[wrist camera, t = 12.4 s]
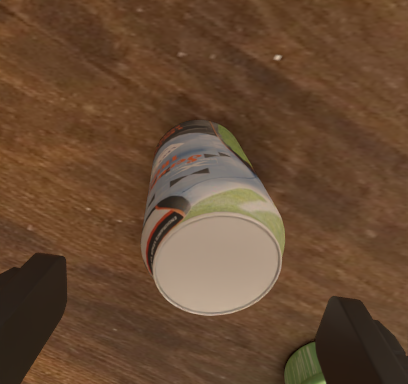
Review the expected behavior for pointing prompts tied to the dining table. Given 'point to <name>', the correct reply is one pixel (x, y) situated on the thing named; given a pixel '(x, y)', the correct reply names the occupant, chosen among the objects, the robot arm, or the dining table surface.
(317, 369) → the ramekin
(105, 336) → the dining table surface
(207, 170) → the beverage can
